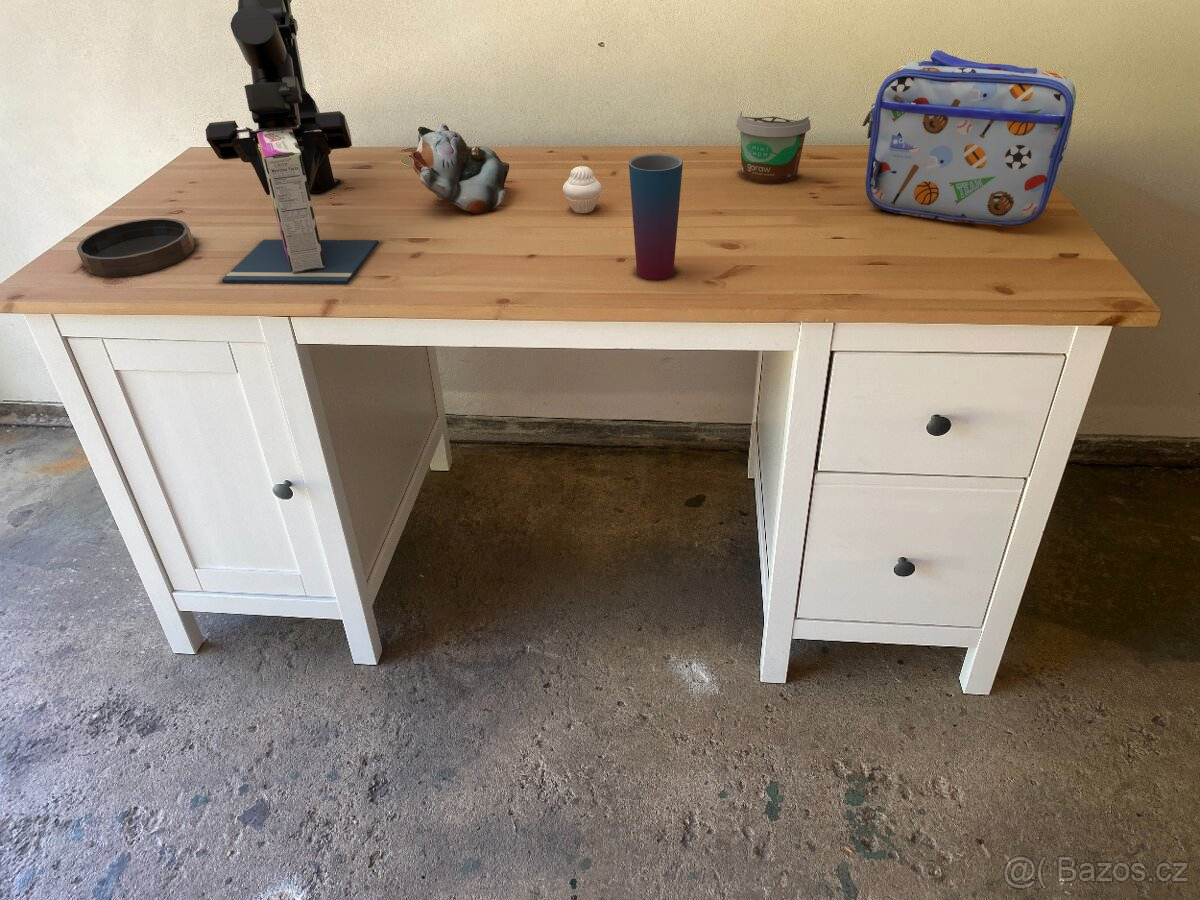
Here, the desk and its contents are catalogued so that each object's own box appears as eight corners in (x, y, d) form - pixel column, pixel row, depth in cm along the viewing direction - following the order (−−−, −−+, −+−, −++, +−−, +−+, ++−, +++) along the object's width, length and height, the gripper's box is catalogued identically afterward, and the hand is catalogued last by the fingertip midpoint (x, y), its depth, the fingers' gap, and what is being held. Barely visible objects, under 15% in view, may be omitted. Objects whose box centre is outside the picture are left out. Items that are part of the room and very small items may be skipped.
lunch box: (845, 211, 128) (867, 57, 115) (862, 190, 135) (885, 42, 122) (1039, 239, 117) (1088, 72, 104) (1046, 214, 124) (1093, 55, 111)
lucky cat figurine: (498, 217, 131) (445, 145, 122) (440, 239, 137) (385, 172, 128) (520, 160, 140) (472, 89, 131) (464, 183, 146) (414, 116, 137)
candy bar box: (281, 245, 124) (255, 131, 114) (316, 240, 125) (293, 127, 116) (289, 274, 115) (261, 155, 106) (326, 269, 117) (302, 150, 107)
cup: (627, 263, 116) (625, 154, 107) (675, 260, 116) (678, 151, 107) (633, 284, 111) (631, 172, 102) (684, 281, 111) (687, 168, 102)
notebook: (378, 242, 125) (377, 239, 125) (347, 283, 114) (346, 280, 114) (264, 242, 127) (263, 239, 127) (222, 282, 116) (221, 279, 116)
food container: (725, 182, 141) (728, 120, 135) (734, 170, 145) (738, 110, 139) (798, 189, 137) (804, 126, 131) (805, 176, 141) (812, 115, 135)
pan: (216, 241, 128) (210, 223, 126) (141, 282, 117) (133, 264, 115) (140, 230, 133) (133, 213, 131) (61, 270, 121) (52, 252, 120)
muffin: (572, 201, 136) (569, 158, 132) (607, 204, 134) (606, 161, 130) (558, 215, 131) (555, 170, 127) (594, 218, 130) (592, 173, 126)
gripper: (185, 60, 109) (197, 171, 107) (330, 48, 112) (345, 157, 110) (213, 106, 120) (225, 208, 118) (345, 95, 123) (359, 194, 121)
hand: (287, 191), depth 117 cm, fingers closed on candy bar box, 5 cm apart
